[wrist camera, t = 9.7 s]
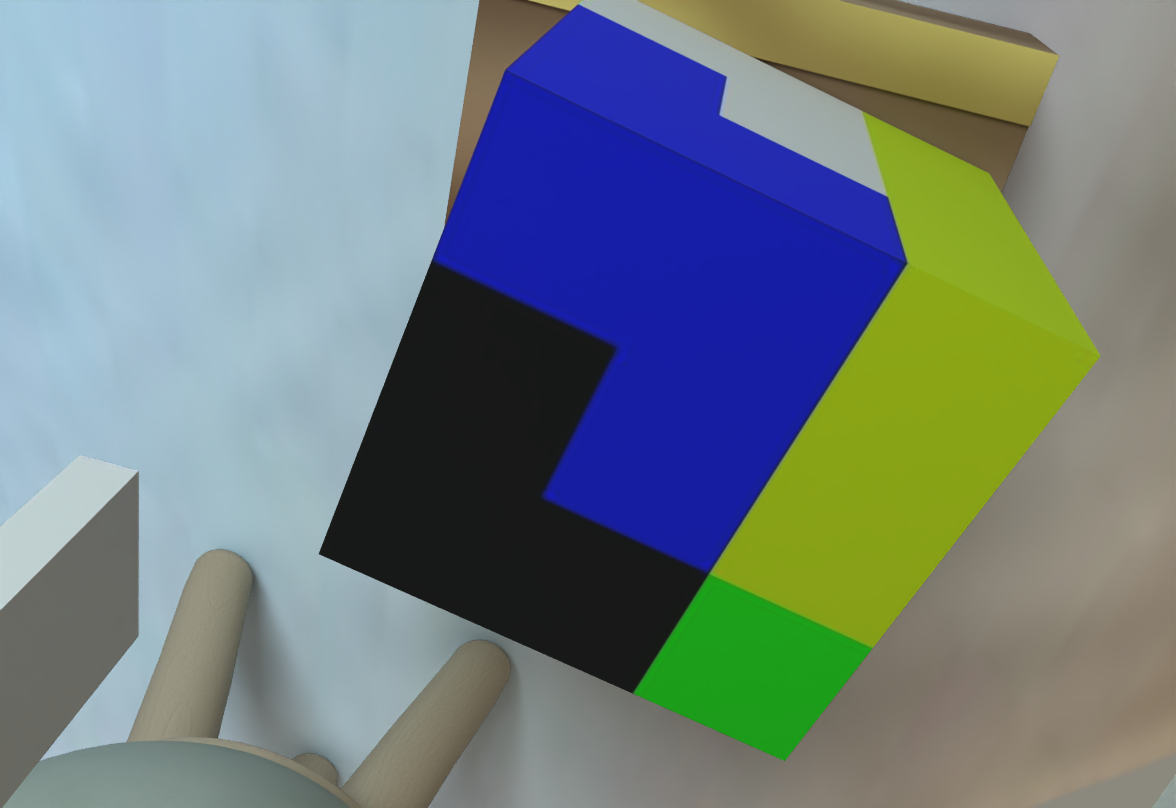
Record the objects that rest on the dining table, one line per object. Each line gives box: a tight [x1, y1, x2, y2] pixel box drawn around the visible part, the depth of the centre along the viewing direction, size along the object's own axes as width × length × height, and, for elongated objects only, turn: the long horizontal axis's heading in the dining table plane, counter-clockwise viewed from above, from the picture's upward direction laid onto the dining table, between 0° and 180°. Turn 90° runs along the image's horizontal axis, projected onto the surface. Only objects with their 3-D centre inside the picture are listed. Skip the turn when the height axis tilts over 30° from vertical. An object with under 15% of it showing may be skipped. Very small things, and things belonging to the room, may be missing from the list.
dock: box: [444, 0, 1059, 227], centre depth 28 cm, size 15×13×6 cm
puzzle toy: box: [319, 0, 1100, 761], centre depth 23 cm, size 10×10×10 cm
